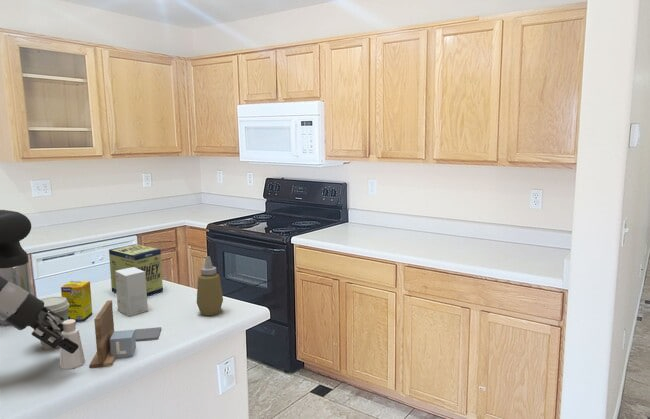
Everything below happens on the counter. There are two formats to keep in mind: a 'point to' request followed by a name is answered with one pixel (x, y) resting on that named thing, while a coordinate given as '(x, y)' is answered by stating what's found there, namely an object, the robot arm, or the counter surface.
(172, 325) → the counter surface
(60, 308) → the coffee cup
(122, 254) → the protein box
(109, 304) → the screen
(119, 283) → the small box
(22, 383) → the counter surface
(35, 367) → the counter surface
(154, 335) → the pad
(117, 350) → the gray cube
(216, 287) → the squeeze bottle
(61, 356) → the pepper shaker
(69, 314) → the supplement box
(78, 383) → the counter surface
